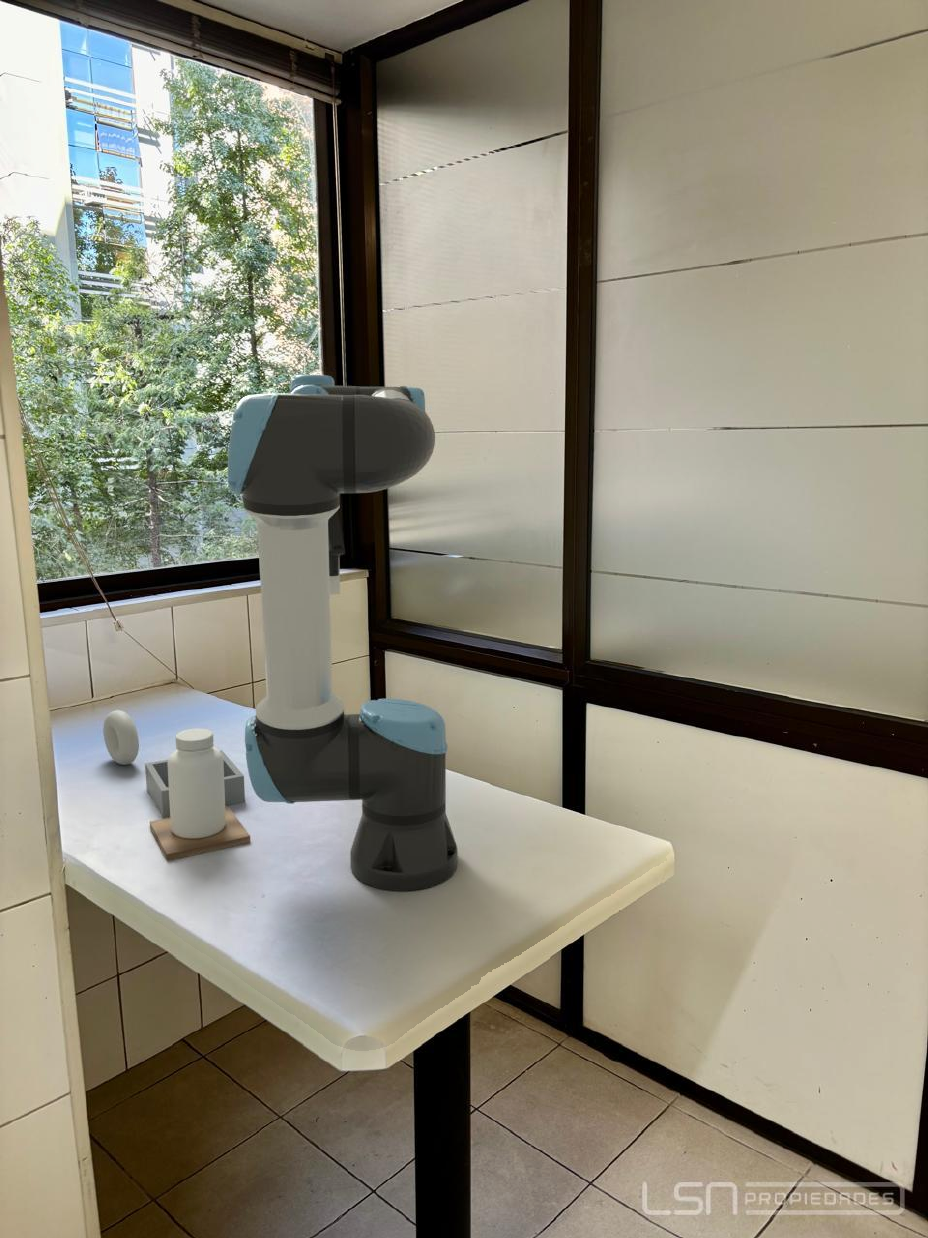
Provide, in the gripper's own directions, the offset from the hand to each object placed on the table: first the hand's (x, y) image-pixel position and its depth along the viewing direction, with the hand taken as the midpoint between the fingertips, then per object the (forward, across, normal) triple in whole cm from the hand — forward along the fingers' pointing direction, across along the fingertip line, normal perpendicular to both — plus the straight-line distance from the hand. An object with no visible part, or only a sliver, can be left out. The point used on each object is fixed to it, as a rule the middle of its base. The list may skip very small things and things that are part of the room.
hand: (317, 587), depth 162 cm
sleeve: (+32, -7, +25) cm, 41 cm away
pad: (+32, -22, +28) cm, 48 cm away
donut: (+32, +13, +33) cm, 48 cm away
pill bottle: (+31, -22, +28) cm, 47 cm away
